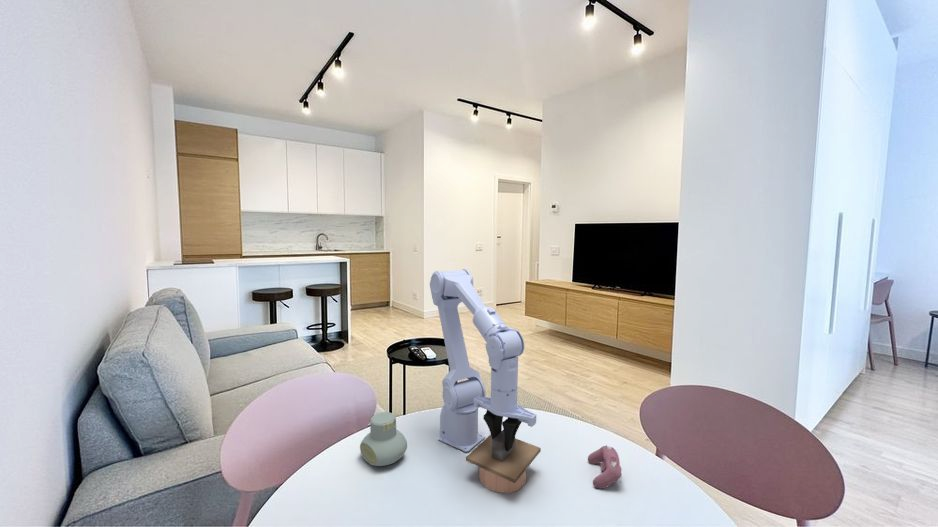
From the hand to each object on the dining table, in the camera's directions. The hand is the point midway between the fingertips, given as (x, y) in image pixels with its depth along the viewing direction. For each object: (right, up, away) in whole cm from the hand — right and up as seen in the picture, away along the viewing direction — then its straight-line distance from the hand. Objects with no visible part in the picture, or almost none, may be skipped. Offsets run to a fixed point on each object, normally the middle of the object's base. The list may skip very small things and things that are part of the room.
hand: (503, 446), depth 80 cm
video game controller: (+22, -7, +1) cm, 24 cm away
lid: (0, -2, +1) cm, 2 cm away
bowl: (0, -7, +1) cm, 7 cm away
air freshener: (-28, -6, +7) cm, 29 cm away
